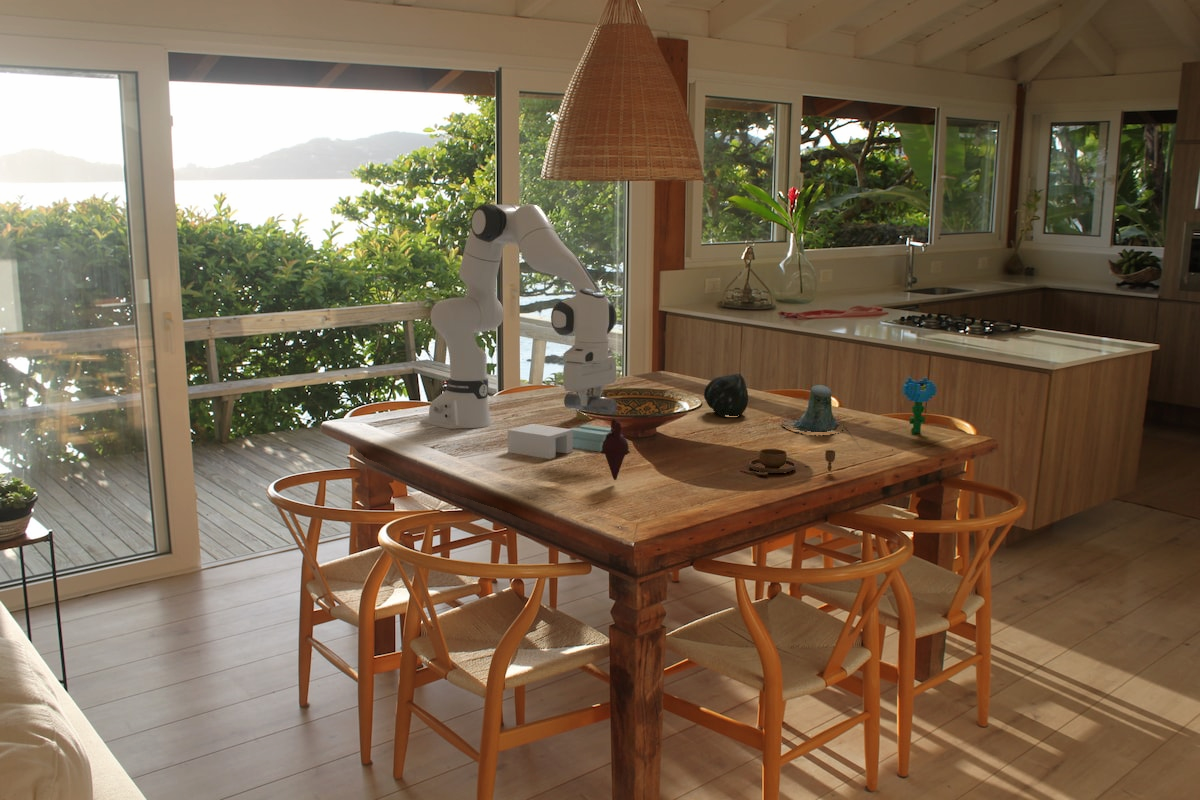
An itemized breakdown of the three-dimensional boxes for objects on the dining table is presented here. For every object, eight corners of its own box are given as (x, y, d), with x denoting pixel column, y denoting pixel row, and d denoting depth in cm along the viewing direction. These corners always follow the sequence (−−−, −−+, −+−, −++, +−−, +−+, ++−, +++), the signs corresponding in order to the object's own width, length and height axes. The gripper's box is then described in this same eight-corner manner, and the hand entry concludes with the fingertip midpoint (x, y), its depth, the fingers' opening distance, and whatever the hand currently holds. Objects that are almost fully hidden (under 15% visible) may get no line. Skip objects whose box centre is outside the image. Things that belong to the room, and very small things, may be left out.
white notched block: (507, 452, 282) (507, 429, 281) (531, 445, 291) (531, 423, 290) (549, 459, 274) (549, 436, 273) (572, 451, 283) (572, 429, 282)
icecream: (597, 477, 256) (598, 417, 253) (626, 476, 257) (627, 416, 255) (602, 484, 249) (603, 423, 247) (632, 483, 251) (633, 422, 248)
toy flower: (927, 436, 309) (931, 377, 306) (935, 443, 300) (939, 382, 297) (897, 436, 310) (900, 376, 307) (904, 442, 301) (908, 381, 298)
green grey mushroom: (832, 421, 326) (846, 374, 316) (846, 459, 309) (860, 410, 300) (775, 417, 325) (787, 369, 315) (785, 455, 308) (798, 405, 298)
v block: (564, 446, 290) (564, 430, 290) (588, 438, 300) (588, 423, 300) (600, 451, 284) (600, 435, 283) (623, 444, 294) (623, 428, 293)
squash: (740, 414, 340) (742, 369, 338) (753, 423, 326) (755, 376, 323) (698, 415, 339) (699, 370, 336) (709, 424, 324) (710, 377, 321)
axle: (564, 408, 274) (564, 394, 273) (572, 406, 277) (572, 391, 276) (608, 415, 266) (608, 400, 266) (616, 412, 270) (617, 397, 269)
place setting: (772, 460, 278) (773, 439, 277) (838, 473, 265) (839, 450, 264) (734, 471, 266) (735, 449, 265) (801, 485, 252) (802, 462, 251)
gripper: (603, 347, 279) (602, 397, 282) (559, 354, 262) (558, 408, 265) (622, 349, 276) (621, 400, 278) (579, 357, 259) (578, 411, 261)
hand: (590, 404), depth 271 cm, fingers closed on axle, 4 cm apart
